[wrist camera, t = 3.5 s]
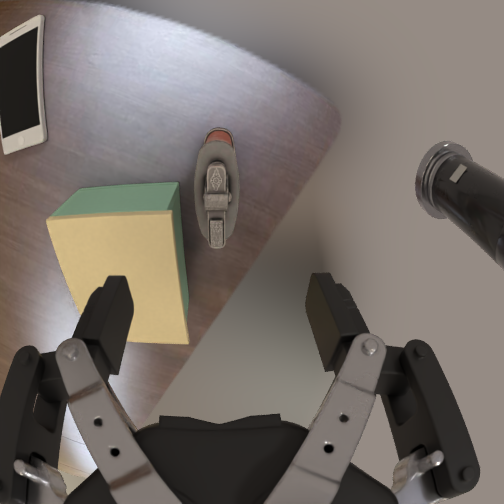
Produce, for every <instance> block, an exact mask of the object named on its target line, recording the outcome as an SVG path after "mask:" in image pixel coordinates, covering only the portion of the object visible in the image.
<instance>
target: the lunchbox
mask: <svg viewBox="0 0 504 504" xmlns="http://www.w3.org/2000/svg"><path fill="white" fill-rule="evenodd" d="M165 210H172V211H173V220H174V231H175V241H176V250H177V259H178V267H179V275H180V283H181V290H182V297H183V304H184V310H185V317H186V322H187V313H188V304H189V293H188V284H187V276H186V266H185V257H184V246H183V235H182V222H181V209H180V193H179V182H163V183H142V184H126V185H112V186H100V187H89V188H80V189H79V190H78V191H76V192H75V193H74V194H73V195H72V196H71V197H70V198H69V199H68V200H66V201H65V202H64V203H63V204H62V205H61V206H60V207H59V208H58V209H57V210H56V211H55V212H54V213H53V214H52V215H51V216H64V215H78V214H94V213H112V212H135V211H165ZM51 216H50V217H51Z"/></svg>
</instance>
